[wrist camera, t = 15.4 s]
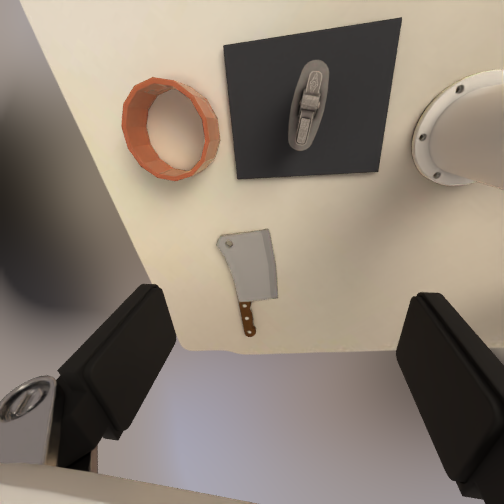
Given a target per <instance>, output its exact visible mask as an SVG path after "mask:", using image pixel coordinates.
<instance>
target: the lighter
mask: <svg viewBox="0 0 504 504" xmlns="http://www.w3.org/2000/svg"><path fill="white" fill-rule="evenodd" d="M328 81H329V69H328V66H327V64H325V63H324V62H323V61H321V60H312V61H310V62H308V63H307V64H306V65H305V66H304V68H303V70H302V73H301V75H300V78H299V81H298V83H297V86H296V89H295V93H294V97H293V101H292V105H291V111H290V118H289V131H288V141H289V144H290V146H291V147H292V148H293V149H295V150H297V151H303V150H306V149H307V148H309V147H310V145H311V144H312V142H313V140H314V137H315V135H316V133H317V130H318V128H319V125H320V122H321V119H322V116H323V112H324V108H325V103H326V98H327V92H328Z"/></svg>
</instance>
